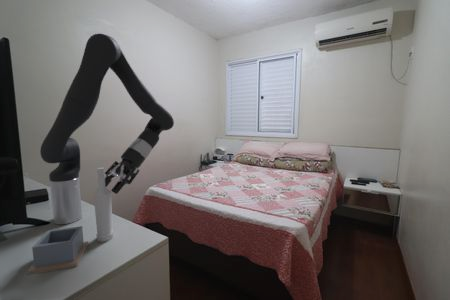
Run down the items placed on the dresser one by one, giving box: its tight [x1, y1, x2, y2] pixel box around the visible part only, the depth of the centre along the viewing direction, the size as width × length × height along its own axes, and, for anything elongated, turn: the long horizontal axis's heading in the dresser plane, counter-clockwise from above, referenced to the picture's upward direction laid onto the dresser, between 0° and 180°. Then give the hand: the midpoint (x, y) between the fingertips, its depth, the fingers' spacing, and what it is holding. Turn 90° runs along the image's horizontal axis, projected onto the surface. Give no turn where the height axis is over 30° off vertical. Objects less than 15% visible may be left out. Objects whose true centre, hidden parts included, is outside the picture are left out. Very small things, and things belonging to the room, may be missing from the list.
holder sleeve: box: [27, 226, 89, 275], centre depth 62 cm, size 11×11×7 cm
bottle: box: [93, 167, 114, 243], centre depth 71 cm, size 5×5×25 cm
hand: (107, 189), depth 72 cm, fingers open, 8 cm apart
